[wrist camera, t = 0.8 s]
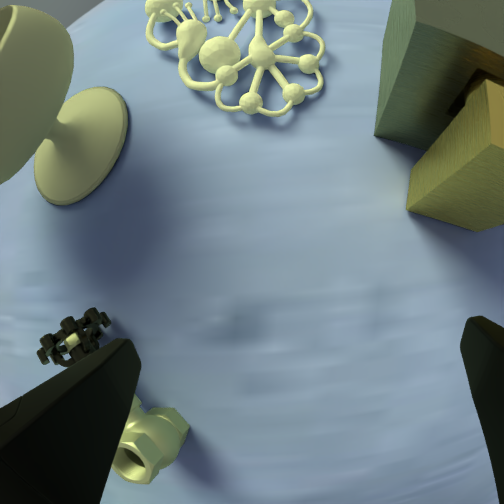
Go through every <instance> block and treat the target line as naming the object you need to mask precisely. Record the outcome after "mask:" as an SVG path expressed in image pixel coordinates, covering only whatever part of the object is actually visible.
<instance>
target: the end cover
mask: <svg viewBox="0 0 504 504" xmlns="http://www.w3.org/2000/svg"><path fill="white" fill-rule="evenodd" d="M464 97H465V106H464V107H463V108H462V110H461V111H460V112H459V113H458V115H457V116H456V117H455V118H454V120H453V121H452V122H451V123H450V124H449V126H448V127H447V128H446V129H445V130H444V132H443V133H442V134H441V135H440V136H439V138H438V139H437V140H436V141H435V142H434V144H433V145H432V146H431V147H430V148H429V149H428V151H427V152H426V153H425V154H424V155H423V156H422V158H421V159H420V160H419V161H418V162H417V163H416V164H415V166H414V167H413V168H412V169H411V174H410V182H409V190H408V197H407V204H406V210H407V211H411V212H414V213H418V214H421V215H425V216H428V217H431V218H434V219H438V220H441V221H444V222H447V223H451V224H454V225H457V226H460V227H463V228H466V229H469V230H472V231H475V232H479V231H483V230H486V229H489V228H493V227H496V226H499V225H502V224H504V80H503V79H501V78H499V77H497V76H495V75H493V74H491V73H489V72H486V71H484V70H482V69H480V68H477V69H476V71H475V72H474V73H473V75H472V76H471V78H470V79H469V81H468V82H467V83H466V85H465V86H464Z"/></svg>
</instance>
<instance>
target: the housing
mask: <svg viewBox="0 0 504 504" xmlns="http://www.w3.org/2000/svg"><path fill="white" fill-rule="evenodd" d="M477 68H480V69H482V70H484V71H486V72H489V73H491V74H493V75H495V76H497V77H499V78H501V79H503V80H504V0H392V3H391V8H390V12H389V17H388V21H387V26H386V30H385V34H384V39H383V48H382V63H381V76H380V87H379V97H378V107H377V115H376V123H375V131H374V136H378V137H381V138H385V139H389V140H392V141H396V142H399V143H403V144H406V145H410V146H413V147H416V148H419V149H422V150H426V151H428V149H429V148H430V147H431V146H432V145H433V144H434V142H435V141H436V140H437V139H438V138H439V136H440V135H441V134H442V133H443V132H444V130H445V129H446V128H447V127H448V126H449V124H450V123H451V122H452V121H453V120H454V118H455V117H456V116H457V115H458V113H459V112H460V111H461V110H462V108H463V107H464V106H465V97H464V86H465V85H466V83H467V82H468V81H469V79H470V78H471V76H472V75H473V73H474V72H475V71H476V69H477Z"/></svg>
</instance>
